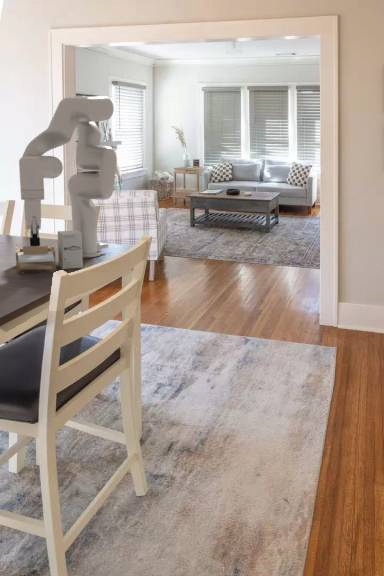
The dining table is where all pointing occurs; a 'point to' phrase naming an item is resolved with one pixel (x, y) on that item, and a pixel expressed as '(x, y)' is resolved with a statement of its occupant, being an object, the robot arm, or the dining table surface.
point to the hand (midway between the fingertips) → (35, 249)
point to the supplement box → (70, 249)
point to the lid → (35, 254)
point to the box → (35, 264)
